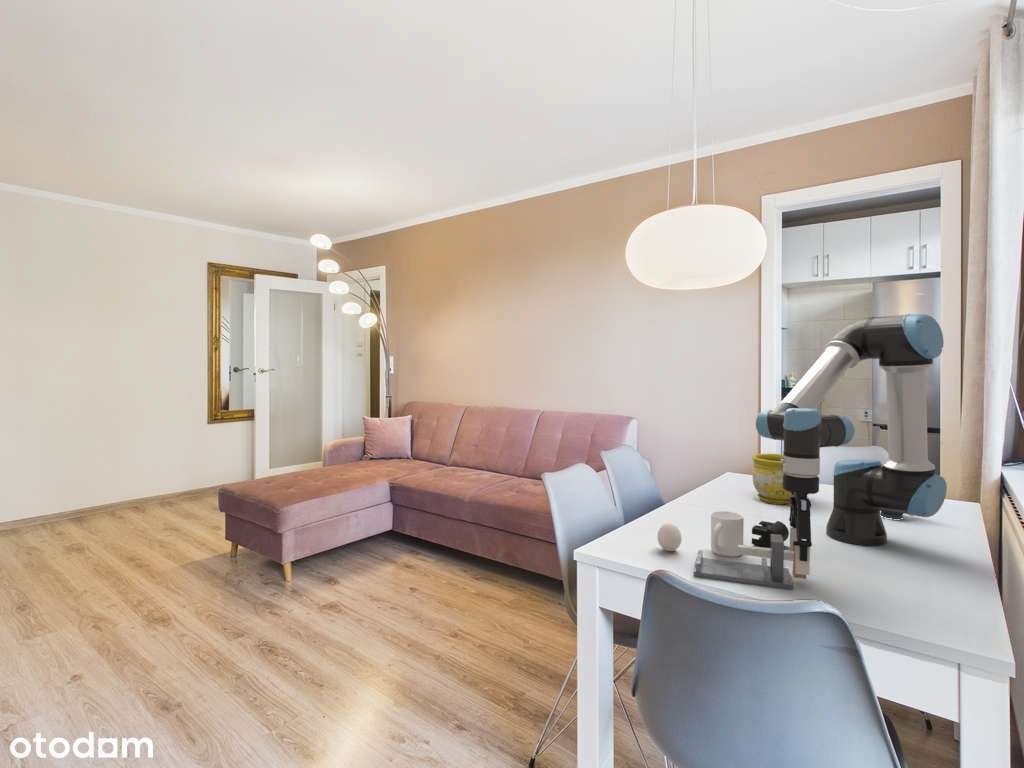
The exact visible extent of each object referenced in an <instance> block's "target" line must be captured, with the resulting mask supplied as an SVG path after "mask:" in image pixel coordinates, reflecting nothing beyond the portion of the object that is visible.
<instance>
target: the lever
mask: <svg viewBox="0 0 1024 768" xmlns="http://www.w3.org/2000/svg"><path fill="white" fill-rule="evenodd" d="M794 542H797V541H793V543H794ZM738 554H740V556H748V557H749V556H751V557H759V558H766V559H770V558H772V548H763V547H754V545H752V546H751V545H745V544H743V545H738ZM784 561H792V576H793V578H794V579H801V580H807V575H801V574H796V573H795V568H796V546H795V545H794V544H793V551H790V549H789V550H787V549H784Z"/></svg>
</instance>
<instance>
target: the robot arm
mask: <svg viewBox="0 0 1024 768" xmlns="http://www.w3.org/2000/svg"><path fill="white" fill-rule="evenodd" d="M943 334H944V333H943V331H942V328H941V326H940V324H939V322H937V320H936V319H935V318H934V317H933V316H931V315H929V314H927V313H926V314H925V313H908V314H898V315H887V316H886V315H885V316H870V317H866V318H862V319H859V320H856V321H854V322H852V323H850V324H848V325H847V326H846V327H845V326H844V328H843V329H841V330H840V331H838V332H837V333H836V334H834V335H833V336H832V337H831V338H830V339H829V340H828V341H827V342H826V343H825V345H824V346H823V348H822V354H821V355H820V356H819V357H818V359H817V360H816V361H815V362H814V363H813V364H812V366H811V367H810V368H809V369H808V370H807V371H806V372H805V374H804V375H803V376H802V377H801V378H800V379H799V380H798V382H797V383H796V384H795V385H794V387H792V389H791V390H790V391H789V392H788V393H787V395H786V396H785V397H784V398H783V399H782V401H780V403H779V404H778V405H777V406H776V408H775V409H774V410H772V409H768V410H763V411H760V412H759V413H758V415H757V417H756V418H755V419H756V420H755V430H756V431H757V433H758V434H759V435H760V436H761V437H762V438H767V439H769V440H772V441H773V440H774V441H776V440H777V441H783V451H782V452H783V453H782V454H783V455H784V456H783V457H784V458H785V459H781V460H780V462H781V463H784V464H783V471H784V472H786V473H785V474H784V475H783V489H784V490H786V491H789V492H791V497H790V506H789V507H790V511H789V518H788V520H789V526H790V528H789V551H793V544H794V545H795V546H796V568H795V573H796V574H801V575H806V576H810V561H811V547H812V546H813V543H812V528H811V523H812V522H811V507H812V502H811V500H810V498H809V497H808V495H809V494H810V495H815V494H817V493H819V491H820V477H819V476H818V475H820V472H821V469H820V468H821V467H820V466H821V465H820V462H821V457H820V456H821V455H820V453H821V452H820V450H821V448H828V447H829V448H830V447H836V448H837V447H840V446H844V445H847V444H849V443H850V442H851V441H852V440H853V438H854V437H855V432H856V430H855V426H854V424H853V422H852V421H851V420H850V419H849V418H848V417H847V416H844V415H841V414H840V415H839V414H838V415H837V414H828V415H826V414H821V412H820V410H818V409H817V407H818V406H819V404H820V403H821V402H822V401H823V400H824V399H825V397H826V396H827V395H828V394H829V392H830V391H831V390H832V389H833V388H834V387H835V386H836V384H838V382H839V380H841V378H842V377H843V376H844V375H845V373H847V371H848V370H849V369H853V368H854V367H856V366H858V364H859V362H861V361H864V360H869V359H870V360H871V359H873V360H875V359H876V360H878V366H879V368H881V369H882V370H883V371H885V378H886V379H885V381H886V383H885V384H886V413H887V416H886V417H887V443H888V444H887V445H888V449H887V450H888V451H887V452H888V458H887V459H885V460H884V461H883V462H882V461H881V460H877V459H866V458H865V459H862V458H861V459H845V460H840V461H837V462H836V463H835V464H834V468H833V475H832V477H833V508H832V512H831V514H830V515H829V519H828V521H827V523H826V527H825V528H826V531H825V532H826V535H827V536H828V537H829V538H832V539H835V540H837V541H840V542H843V543H848V544H853V545H858V546H859V545H860V546H883V545H886V544H887V542H888V533H887V530H886V528H885V525H884V522H883V518H882V517H881V516H880V513H881V511H880V508H882V509H887V510H892V511H896V512H900V513H904V514H905V515H908V516H910V517H912V516H914V517H922V518H930V517H933V516H934V515H936V514H937V513H938V512H939V510H941V508H942V506H943V504H944V503H945V502H944V501H945V500H946V495H947V490H948V489H947V481H946V479H945V478H944V477H943V476H941V475H939V474H936V466H935V464H933V463H932V461H930V460H929V459H928V458H929V457H928V456H929V455H928V453H929V450H928V449H929V448H928V414H927V413H928V411H927V406H928V404H927V375H926V374H927V370H928V369H929V368H931V367H932V366H933V365H934V359H935V358H936V359H937V358H938V357H939V356H941V354H942V352H943V348H944V335H943ZM793 541H797V542H794V543H793Z"/></svg>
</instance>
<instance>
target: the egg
mask: <svg viewBox="0 0 1024 768" xmlns="http://www.w3.org/2000/svg"><path fill="white" fill-rule="evenodd" d="M657 542H658V544H659V546H660V547H661V548H662V549H663V550H665V551H667V552H674V551H676V550H678V548H679V547H680V546H681V544H682V534H681V531H680V529H679V527H678V526H677V525H676V524H675V523H673V522H671V521H670V522H668V521H667V522H665V523H663V524H661V526H660V528H659V530H658V531H657Z"/></svg>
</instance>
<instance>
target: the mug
mask: <svg viewBox="0 0 1024 768" xmlns="http://www.w3.org/2000/svg"><path fill="white" fill-rule="evenodd" d="M744 519H745V518H744V515H743V514H741V513H737V512H736V511H735V512H734V511H728V510H718V511H712V512H711V513H710V549H711V552H713V553H714V554H715V555H717V556H718V555H719V556H722V557H726V558H729V557H730V558H736V557H741V555H740V554H738V545H744V525H745V524H744V522H745V521H744Z"/></svg>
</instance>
